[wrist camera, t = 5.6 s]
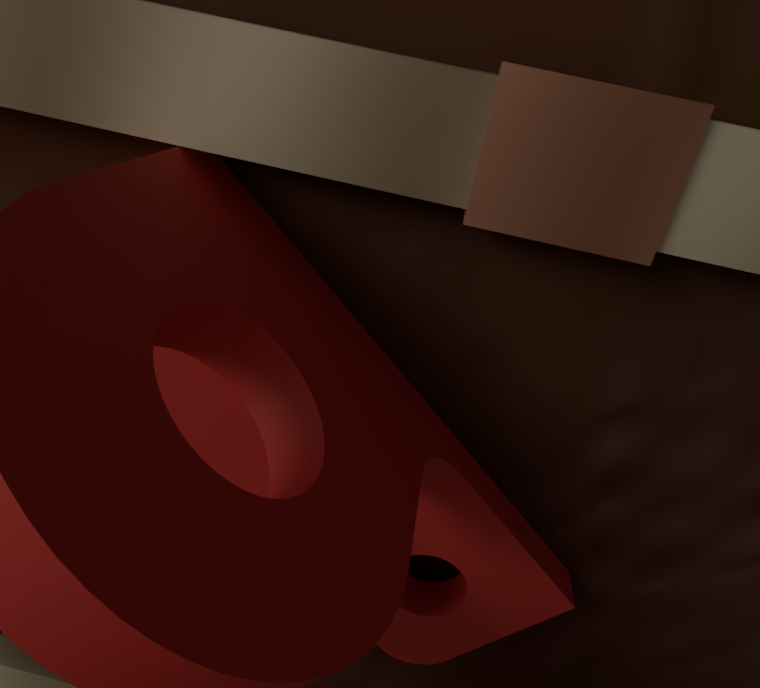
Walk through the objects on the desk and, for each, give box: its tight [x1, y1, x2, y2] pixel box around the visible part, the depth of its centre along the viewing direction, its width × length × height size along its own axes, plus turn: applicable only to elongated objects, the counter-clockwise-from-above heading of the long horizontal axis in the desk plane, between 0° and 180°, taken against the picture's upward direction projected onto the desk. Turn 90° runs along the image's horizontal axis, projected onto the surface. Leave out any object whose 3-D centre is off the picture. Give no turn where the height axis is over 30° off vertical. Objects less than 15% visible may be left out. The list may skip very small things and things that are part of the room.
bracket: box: [0, 146, 575, 688], centre depth 10 cm, size 12×4×8 cm, turn 39°
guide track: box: [0, 0, 760, 688], centre depth 14 cm, size 17×19×1 cm
